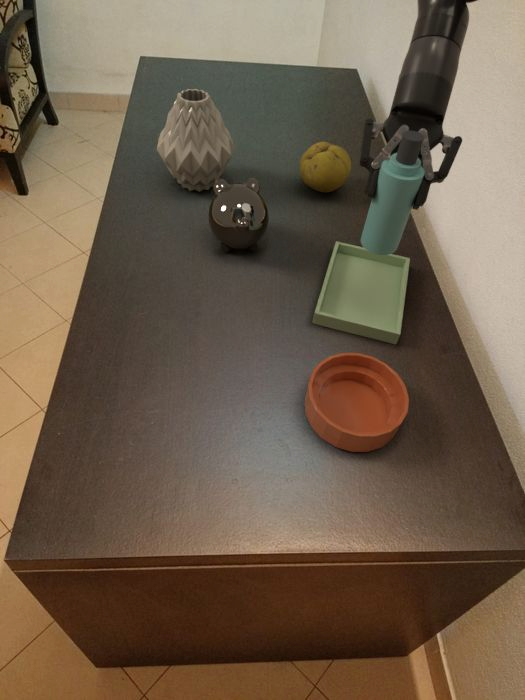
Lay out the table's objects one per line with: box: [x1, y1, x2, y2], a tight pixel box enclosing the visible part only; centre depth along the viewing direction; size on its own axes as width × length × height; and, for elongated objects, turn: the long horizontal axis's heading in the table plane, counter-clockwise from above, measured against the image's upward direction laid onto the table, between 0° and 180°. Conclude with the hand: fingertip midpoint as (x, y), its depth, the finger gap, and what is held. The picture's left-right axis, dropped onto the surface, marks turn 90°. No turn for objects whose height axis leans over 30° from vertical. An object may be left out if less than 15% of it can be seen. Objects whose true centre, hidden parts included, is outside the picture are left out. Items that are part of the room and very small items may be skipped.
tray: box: [311, 240, 411, 345], centre depth 84 cm, size 14×20×3 cm
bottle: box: [360, 131, 425, 255], centre depth 68 cm, size 6×6×18 cm
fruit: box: [299, 141, 352, 193], centre depth 103 cm, size 11×12×10 cm
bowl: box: [303, 352, 410, 453], centre depth 67 cm, size 14×14×5 cm
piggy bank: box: [208, 177, 270, 253], centre depth 88 cm, size 11×15×12 cm
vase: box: [156, 88, 236, 192], centre depth 98 cm, size 16×16×18 cm
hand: (393, 202), depth 68 cm, fingers closed on bottle, 6 cm apart
